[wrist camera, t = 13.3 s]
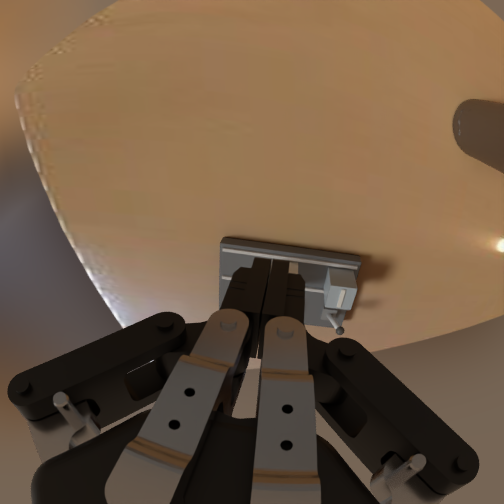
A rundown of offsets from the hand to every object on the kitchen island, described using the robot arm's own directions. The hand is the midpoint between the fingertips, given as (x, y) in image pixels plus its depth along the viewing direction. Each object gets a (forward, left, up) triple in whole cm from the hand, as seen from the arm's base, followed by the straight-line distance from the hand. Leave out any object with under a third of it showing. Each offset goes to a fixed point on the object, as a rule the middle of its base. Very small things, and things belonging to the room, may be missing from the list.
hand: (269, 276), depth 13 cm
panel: (-2, +22, -31) cm, 38 cm away
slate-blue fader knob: (-10, +19, -29) cm, 36 cm away
